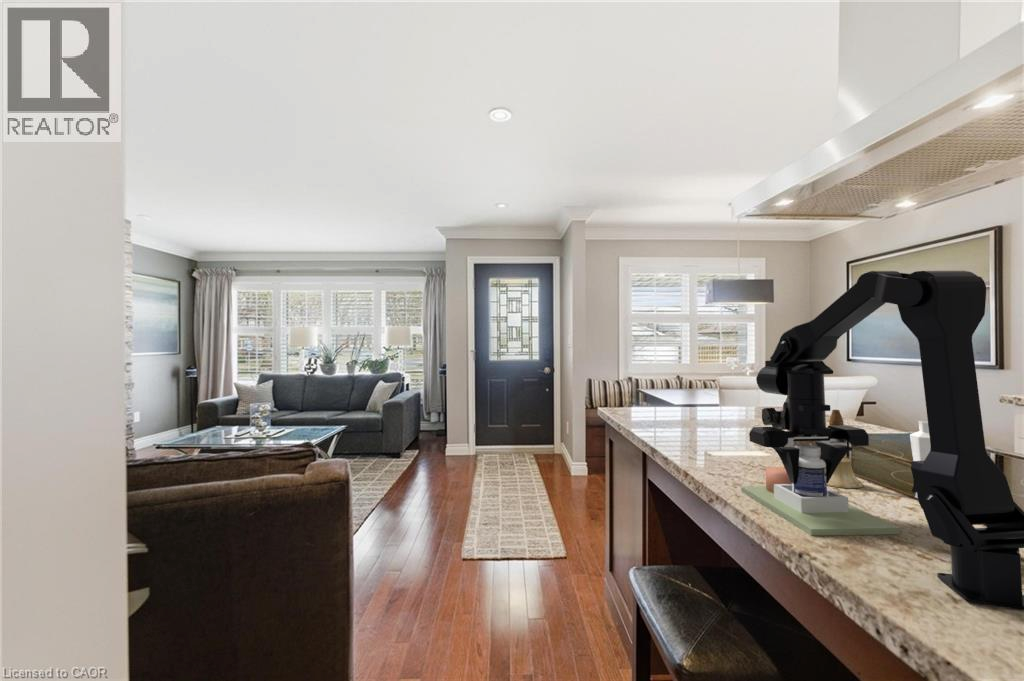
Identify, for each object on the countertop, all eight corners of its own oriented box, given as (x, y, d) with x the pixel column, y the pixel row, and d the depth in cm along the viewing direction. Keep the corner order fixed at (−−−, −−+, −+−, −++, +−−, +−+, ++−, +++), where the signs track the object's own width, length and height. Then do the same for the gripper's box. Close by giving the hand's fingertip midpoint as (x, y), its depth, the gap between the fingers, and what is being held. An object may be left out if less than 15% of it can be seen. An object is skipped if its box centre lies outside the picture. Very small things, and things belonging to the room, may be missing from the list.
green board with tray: (900, 534, 70) (898, 502, 70) (811, 535, 70) (810, 503, 70) (808, 490, 92) (807, 466, 92) (741, 491, 92) (740, 467, 92)
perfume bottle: (907, 497, 86) (903, 420, 87) (920, 494, 88) (917, 419, 88) (936, 505, 82) (932, 424, 83) (950, 501, 84) (946, 422, 84)
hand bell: (807, 477, 101) (805, 407, 101) (844, 477, 100) (842, 407, 101) (832, 489, 93) (829, 412, 93) (873, 488, 92) (870, 412, 93)
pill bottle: (833, 505, 78) (831, 450, 78) (799, 503, 79) (797, 449, 79) (818, 495, 83) (816, 443, 83) (787, 494, 84) (785, 443, 85)
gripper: (826, 393, 89) (829, 470, 89) (733, 394, 90) (736, 472, 89) (870, 399, 78) (873, 487, 78) (764, 400, 79) (767, 489, 78)
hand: (809, 483), depth 81 cm, fingers closed on pill bottle, 5 cm apart
